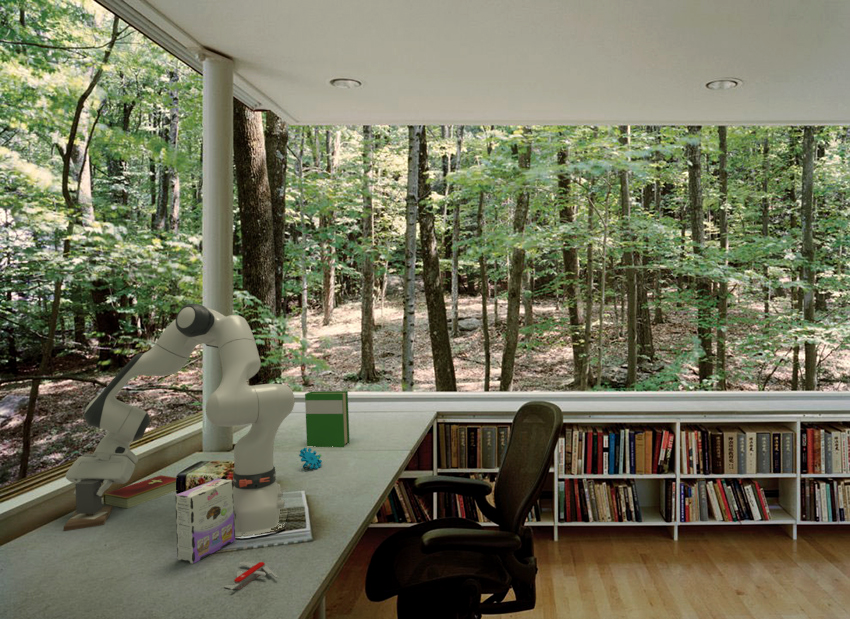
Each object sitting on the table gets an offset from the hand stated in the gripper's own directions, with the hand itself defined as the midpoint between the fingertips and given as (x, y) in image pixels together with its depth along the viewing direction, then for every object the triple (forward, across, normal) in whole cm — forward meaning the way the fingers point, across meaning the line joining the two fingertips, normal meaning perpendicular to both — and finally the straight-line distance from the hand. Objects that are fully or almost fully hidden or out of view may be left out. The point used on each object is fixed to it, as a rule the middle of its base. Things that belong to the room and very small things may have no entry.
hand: (87, 495), depth 162 cm
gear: (-34, +49, +45) cm, 75 cm away
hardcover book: (-9, +3, +21) cm, 23 cm away
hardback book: (-58, +44, +70) cm, 101 cm away
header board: (+5, 0, +6) cm, 8 cm away
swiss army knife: (+27, +68, -16) cm, 75 cm away
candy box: (+17, +50, -6) cm, 53 cm away
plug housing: (+3, 0, +4) cm, 5 cm away
